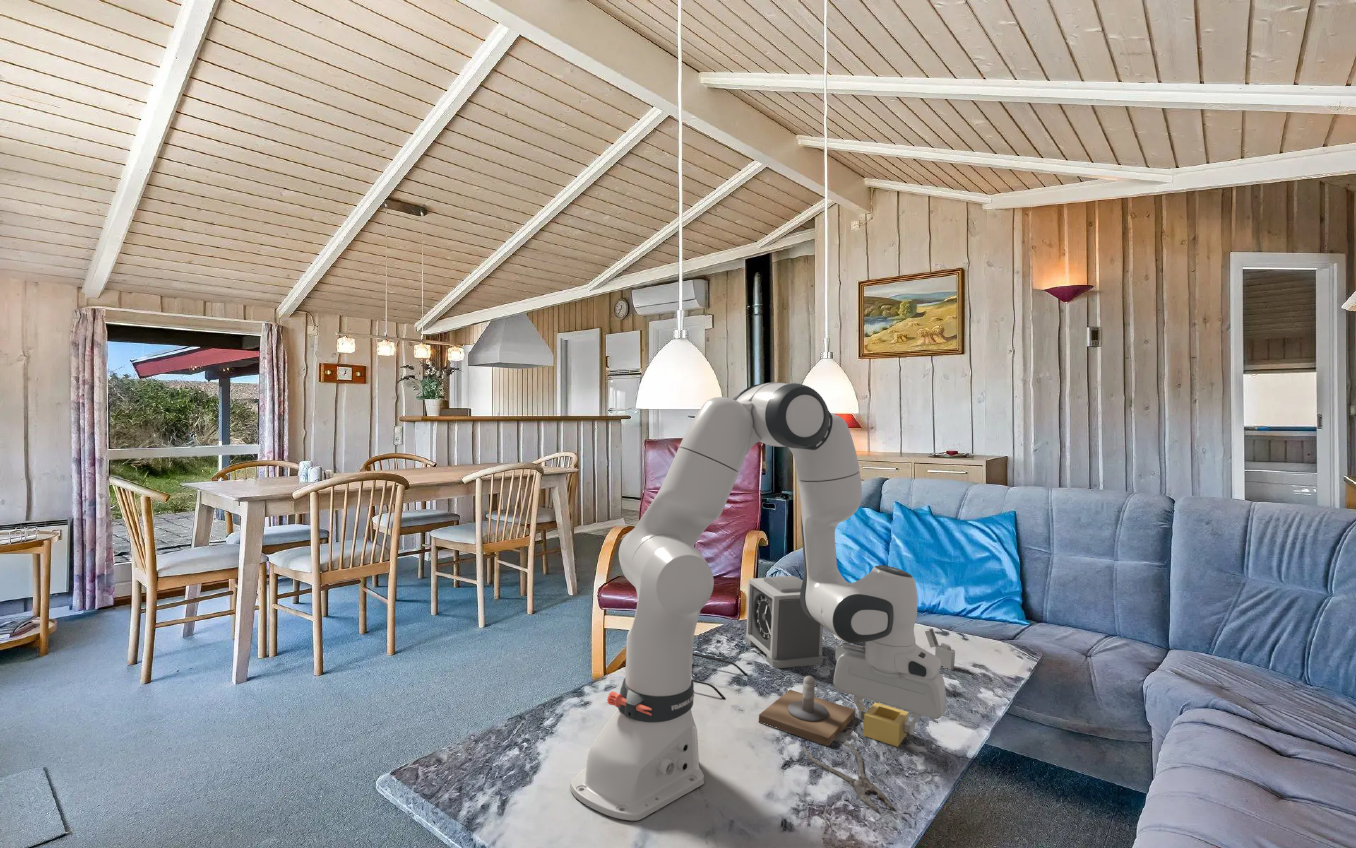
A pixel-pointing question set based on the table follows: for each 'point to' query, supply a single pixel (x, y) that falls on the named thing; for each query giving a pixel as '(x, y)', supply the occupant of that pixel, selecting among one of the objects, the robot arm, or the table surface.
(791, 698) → the post stand
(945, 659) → the lighter
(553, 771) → the table surface
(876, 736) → the block with square hole
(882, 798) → the pliers
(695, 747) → the robot arm
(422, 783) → the table surface
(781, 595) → the alarm clock
